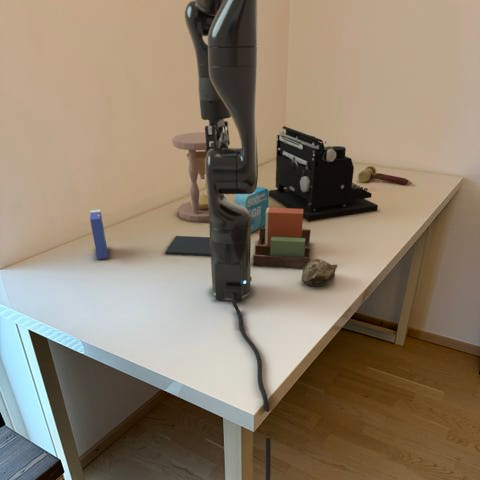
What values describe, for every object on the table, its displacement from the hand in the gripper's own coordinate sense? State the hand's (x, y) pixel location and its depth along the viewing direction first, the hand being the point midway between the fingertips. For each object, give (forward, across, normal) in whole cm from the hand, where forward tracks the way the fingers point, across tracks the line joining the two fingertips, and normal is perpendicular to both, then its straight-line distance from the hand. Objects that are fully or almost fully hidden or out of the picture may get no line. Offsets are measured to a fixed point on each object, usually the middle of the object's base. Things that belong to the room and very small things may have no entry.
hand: (220, 166), depth 121 cm
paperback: (+25, +3, +17) cm, 31 cm away
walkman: (+22, +7, -35) cm, 42 cm away
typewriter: (+22, -50, +23) cm, 60 cm away
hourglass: (+20, -32, -16) cm, 41 cm away
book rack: (+25, -2, +15) cm, 29 cm away
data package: (+23, -21, +3) cm, 31 cm away
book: (+25, -5, +15) cm, 29 cm away
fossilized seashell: (+27, +12, +26) cm, 40 cm away
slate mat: (+23, -3, -8) cm, 24 cm away
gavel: (+21, -82, +48) cm, 98 cm away
